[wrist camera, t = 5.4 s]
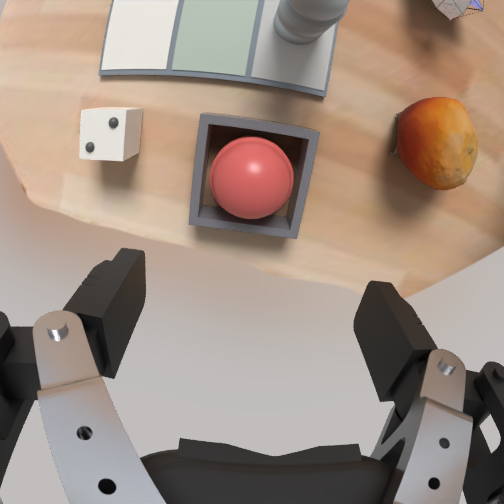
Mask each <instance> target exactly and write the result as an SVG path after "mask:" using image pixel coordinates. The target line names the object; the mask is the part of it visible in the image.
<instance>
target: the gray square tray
mask: <svg viewBox="0 0 504 504" xmlns="http://www.w3.org/2000/svg"><path fill="white" fill-rule="evenodd" d="M212 124H215V125H223V126H231V127H239V128H246V129H253V130H259V131H266V132H272V133H278V134H283V135H289V136H294V137H300V138H302V142H301V147H300V152H299V157H298V162H297V167H296V172H295V177H294V182H293V188H292V192H291V197H290V202H289V206H288V211H287V216H286V217H281V216H275V215H268V216H266V217H263V218H259V219H245V218H240V217H237V216H234V215H232V214H230V213H229V212H227V211H226V210H224V209H223V208H217V207H209V206H203V198H204V189H205V180H206V171H207V163H208V155H209V147H210V139H211V131H212ZM319 134H320V132H318V131H316V130H313V129H310V128H305V127H300V126H295V125H290V124H284V123H278V122H273V121H267V120H260V119H254V118H247V117H240V116H232V115H224V114H215V113H202V114H200V121H199V129H198V137H197V145H196V154H195V163H194V172H193V182H192V192H191V203H190V214H189V225H196V226H204V227H212V228H219V229H227V230H234V231H242V232H249V233H256V234H264V235H271V236H278V237H285V238H292V239H297V236H298V232H299V227H300V223H301V219H302V214H303V210H304V205H305V201H306V196H307V192H308V187H309V183H310V178H311V173H312V169H313V164H314V159H315V154H316V149H317V144H318V139H319Z"/></svg>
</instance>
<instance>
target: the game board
mask: <svg viewBox="0 0 504 504" xmlns="http://www.w3.org/2000/svg"><path fill="white" fill-rule="evenodd" d="M279 2H280V0H112V3H111V8H110V12H109V17H108V22H107V27H106V32H105V37H104V43H103V49H102V55H101V62H100V69H99V75H100V76H104V75H168V76H187V77H201V78H212V79H222V80H231V81H239V82H246V83H253V84H260V85H266V86H272V87H278V88H284V89H289V90H294V91H299V92H304V93H309V94H313V95H318V96H322V97H326V92H327V87H328V81H329V75H330V70H331V64H332V58H333V52H334V46H335V40H336V34H337V28H338V22H336V23H335V24H334V25H333V26H332V27H330V28H329V29H328V30H327V31H326V32H324V33H323V34H322V35H321V36H320V37H319V38H317V39H316V40H315V41H313V42H312V43H309V44H305V45H297V44H292V43H289V42H287V41H285V40H284V39H283V38H281V37H280V36H279V35H278V33H277V32H276V30H275V27H274V17H275V14H276V11H277V8H278V5H279Z"/></svg>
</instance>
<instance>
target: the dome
mask: <svg viewBox="0 0 504 504" xmlns="http://www.w3.org/2000/svg"><path fill="white" fill-rule="evenodd" d="M209 181H210V188H211V191H212V194H213V196H214V198H215V200H216V201H217V202H218V204H219V205H220V206H221V207H222V208H223V209H224V210H226V211H227V212H229V213H230V214H232V215H234V216H237V217H240V218H245V219H259V218H263V217H266V216H268V215H271V214H272V213H274V212H276V211H277V210H278V209H280V208H281V207H282V206H283V205H284V204H285V202H286V201H287V199H288V198H289V196H290V194H291V191H292V188H293V182H294V175H293V169H292V166H291V163H290V161H289V159H288V158H287V156H286V155H285V153H284V152H283V150H282V149H281V148H280V147H279V146H278V145H277V144H276V143H274V142H273V141H271V140H269V139H268V138H265V137H262V136H257V135H246V136H241V137H238V138H235V139H233V140H231V141H230V142H228V143H227V144H226V145H225V146H223V148H222V149H221V150H220V151H219V153H218V154H217V156H216V158H215V160H214V162H213V164H212V166H211V170H210V177H209Z"/></svg>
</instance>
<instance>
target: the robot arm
mask: <svg viewBox="0 0 504 504" xmlns="http://www.w3.org/2000/svg"><path fill="white" fill-rule="evenodd" d="M145 278H146V277H145V253H144V251H142V250H136V249H128V248H121V250H120V251H119V252H118V253H117V255H116V256H115V257H114V259H113V260H112V261H109V260H105V261H103V262H102V263H100V264H98V265H97V266H95V267H94V268H93V269H92V271H91V272H90V273H89V274H88V276H87V278H85V280H84V281H83V282H82V285H80V286H79V288H78V289H77V291H76V292H75V293H74V295H73V296H72V298H71V299H70V300H69V301H68V303H67V304H66V306H65V307H64V309H63V310H59V311H53V312H49V313H47V314H45V315H43V316H42V317H40V318H39V319H38V320H37V321H36V323H35V324H34V327H11V326H10V323H9V321H8V318H7V316H6V315H5V314H4V313H3V312H1V311H0V487H1V484H2V481H3V478H4V475H5V472H6V469H7V466H8V463H9V461H10V458H11V455H12V452H13V450H14V447H15V445H16V442H17V440H18V437H19V434H20V432H21V430H22V428H23V425H24V423H25V421H26V418H27V416H28V414H29V412H30V409H31V407H32V405H33V403H34V401H35V400H38V401H39V406H40V411H41V415H42V419H43V423H44V427H45V431H46V435H47V439H48V442H49V445H50V449H51V452H52V456H53V459H54V462H55V465H56V468H57V471H58V474H59V477H60V479H61V482H62V485H63V487H64V490H65V493H66V495H67V498H68V500H69V502H70V504H458V503H459V500H460V496H461V491H462V489H463V492H464V496H465V499H466V502H467V504H504V367H503V366H502V365H501V364H499V363H496V362H487V363H486V364H485V365H484V366H483V368H482V369H481V371H480V372H479V373H478V372H473V371H469V370H466V369H465V366H464V364H463V362H462V361H461V360H460V359H459V358H458V357H457V356H456V355H455V354H453V353H452V352H450V351H447V350H444V349H438V348H437V346H436V344H435V343H434V341H433V340H432V338H431V336H430V335H429V333H428V332H427V330H426V328H425V327H424V325H422V322H421V320H420V319H419V318H418V317H417V314H416V312H415V311H414V309H413V308H412V306H411V305H410V304H408V303H407V302H406V301H405V300H404V299H403V298H402V297H400V295H399V294H398V292H397V291H396V289H395V287H394V286H393V285H392V283H389V282H381V281H370V282H369V283H368V285H367V287H366V290H365V292H364V295H363V297H362V300H361V303H360V305H359V307H358V310H357V312H356V315H355V318H354V332H355V335H356V338H357V340H358V343H359V345H360V348H361V351H362V353H363V356H364V359H365V361H366V364H367V367H368V370H369V372H370V375H371V377H372V380H373V383H374V386H375V388H376V392H377V395H378V397H379V400H380V402H385V401H394V403H395V405H394V406H393V408H392V409H391V411H390V413H389V416H388V418H387V420H386V423H385V426H384V428H383V430H382V433H381V435H380V437H379V440H378V442H377V444H376V446H375V449H374V451H373V452H372V454H371V456H370V457H367V456H363V455H361V452H360V448H359V444H349V445H334V446H318V447H314V448H310V449H307V450H303V451H299V452H294V453H291V454H286V455H282V456H269V455H265V454H261V453H257V452H253V451H250V450H246V449H242V448H239V447H236V446H232V445H229V444H223V443H213V442H205V441H197V440H190V439H183V438H180V441H179V448H178V449H176V450H167V451H160V452H156V453H152V454H149V455H146V456H144V457H141V458H139V456H138V455H137V453H136V451H135V449H134V447H133V445H132V443H131V441H130V439H129V437H128V435H127V433H126V431H125V429H124V427H123V424H122V422H121V420H120V418H119V416H118V414H117V411H116V409H115V407H114V405H113V402H112V400H111V398H110V395H109V393H108V390H107V388H106V385H105V383H104V381H103V378H102V376H104V377H108V378H112V379H114V378H115V376H116V373H117V371H118V368H119V365H120V363H121V360H122V358H123V355H124V353H125V350H126V348H127V345H128V343H129V340H130V338H131V335H132V333H133V331H134V328H135V326H136V323H137V321H138V319H139V316H140V314H141V312H142V309H143V307H144V303H145V297H146V282H145V281H146V279H145ZM490 414H491V416H492V418H493V420H494V422H495V424H496V426H497V428H498V430H499V433H500V436H501V441H500V445H499V446H498V448H497V449H496V450H495V451H494V452H493V453H491V452H490V450H489V447H488V445H487V442H486V440H485V438H484V436H483V433H482V431H481V429H480V426H479V425H480V424H481V423H482V422H483V421H484V420H485V419H486V418H487V417H488V416H489V415H490ZM0 504H3V502H2V500H1V498H0Z"/></svg>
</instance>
